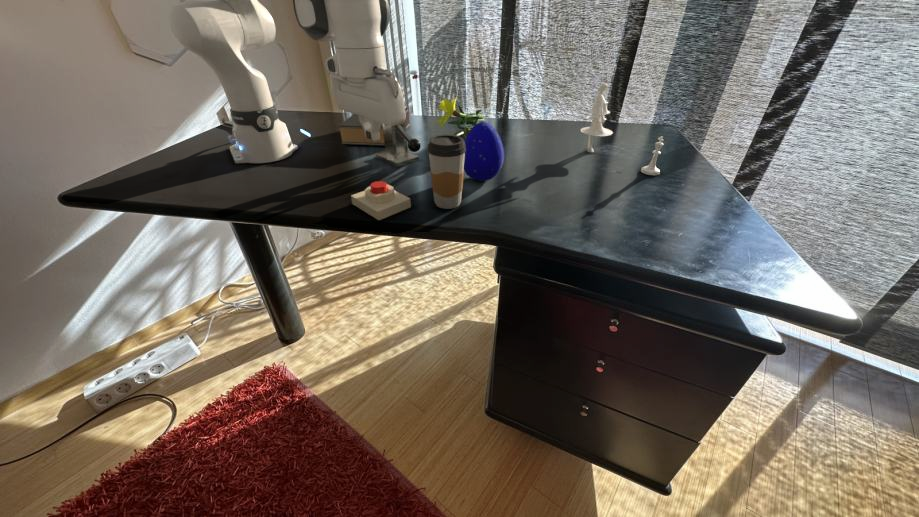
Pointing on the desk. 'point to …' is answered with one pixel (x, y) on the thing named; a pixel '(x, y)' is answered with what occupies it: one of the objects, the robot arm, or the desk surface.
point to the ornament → (483, 152)
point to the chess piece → (653, 160)
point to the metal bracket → (395, 147)
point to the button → (378, 187)
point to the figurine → (597, 118)
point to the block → (381, 202)
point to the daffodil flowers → (466, 118)
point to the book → (361, 131)
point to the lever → (409, 139)
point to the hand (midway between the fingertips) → (372, 138)
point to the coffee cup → (447, 169)
